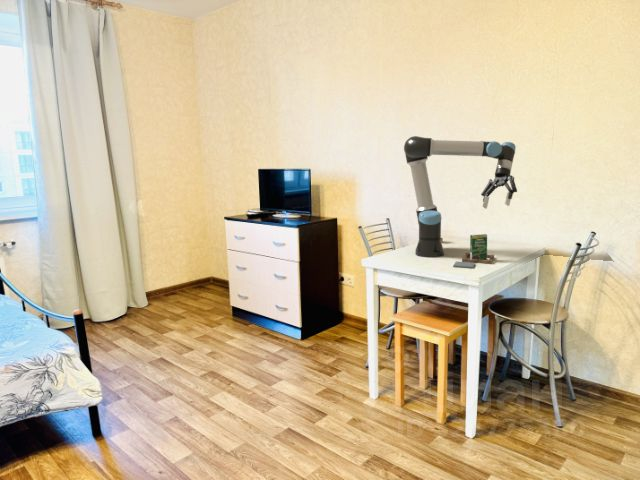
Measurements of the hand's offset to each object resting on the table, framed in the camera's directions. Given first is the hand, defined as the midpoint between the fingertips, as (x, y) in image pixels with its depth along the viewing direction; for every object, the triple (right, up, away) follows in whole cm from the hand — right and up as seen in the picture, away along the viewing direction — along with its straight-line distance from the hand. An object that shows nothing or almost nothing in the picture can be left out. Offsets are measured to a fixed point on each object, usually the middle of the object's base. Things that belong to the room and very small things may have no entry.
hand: (495, 206), depth 231 cm
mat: (-22, -30, -16) cm, 41 cm away
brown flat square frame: (-11, -28, -5) cm, 30 cm away
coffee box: (-11, -28, -5) cm, 31 cm away
